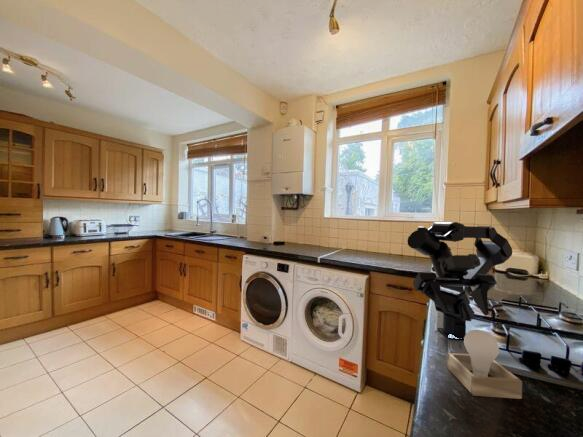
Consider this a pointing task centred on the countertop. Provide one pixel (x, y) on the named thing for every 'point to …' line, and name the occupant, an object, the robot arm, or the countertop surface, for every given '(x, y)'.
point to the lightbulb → (481, 351)
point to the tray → (485, 378)
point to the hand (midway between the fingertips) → (467, 313)
